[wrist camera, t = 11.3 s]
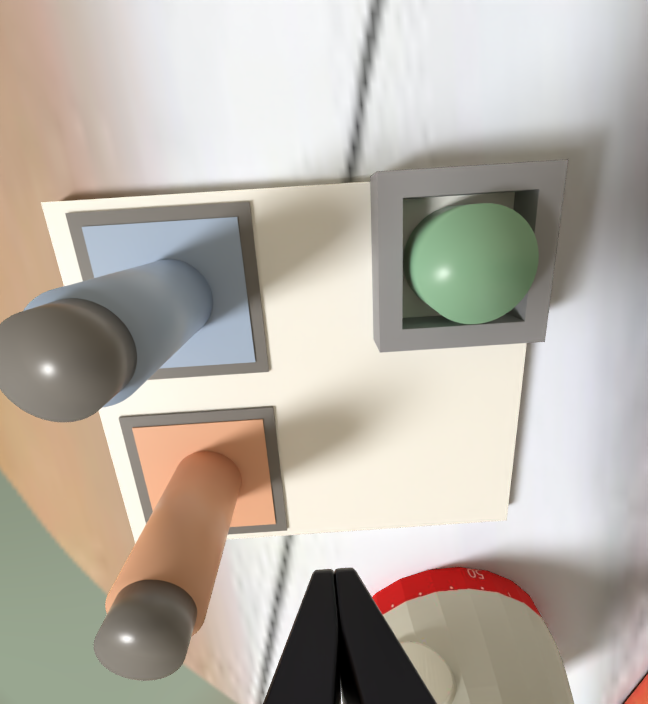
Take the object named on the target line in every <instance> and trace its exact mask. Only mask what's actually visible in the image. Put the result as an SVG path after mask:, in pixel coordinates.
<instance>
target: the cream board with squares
mask: <svg viewBox="0 0 648 704" xmlns="http://www.w3.org/2000/svg"><path fill="white" fill-rule="evenodd" d="M567 166H568V159H567V160H551V161H536V162H520V163H504V164H489V165H473V166H457V167H441V168H426V169H410V170H394V171H379V172H376V173H374V174H373V175H372V176H370V182H355V183H339V184H323V185H308V186H292V187H276V188H261V189H245V190H229V191H214V192H198V193H182V194H167V195H151V196H135V197H120V198H104V199H88V200H73V201H57V202H41V204H42V208H43V212H44V215H45V219H46V222H47V226H48V230H49V233H50V237H51V240H52V244H53V248H54V251H55V255H56V259H57V262H58V266H59V269H60V273H61V277H62V280H63V284H64V286H67V285H71V284H75V283H78V282H82V281H86V280H89V279H93V278H97V277H100V276H104V275H108V274H111V273H115V272H119V271H122V270H126V269H130V268H133V267H137V266H141V265H144V264H148V263H152V262H155V261H159V260H164V259H174V260H179V261H183V262H185V263H187V264H189V265H191V266H193V267H194V268H195V269H197V270H198V271H199V272H200V273H201V274H202V275H203V276H204V278H205V279H206V281H207V282H208V284H209V286H210V289H211V292H212V298H213V306H212V312H211V314H210V317H209V319H208V320H207V322H206V323H205V324H204V325H203V326H202V327H201V328H200V329H199V330H198V331H197V332H196V333H195V334H194V335H193V336H192V337H191V338H190V339H189V340H188V341H187V342H186V343H185V344H184V345H183V346H182V347H181V348H180V349H179V350H178V351H177V352H176V353H175V354H174V355H173V356H172V357H171V358H169V359H168V360H167V361H166V362H165V363H164V364H163V365H162V366H161V367H160V368H159V369H158V370H157V371H156V372H155V373H154V374H153V375H152V376H151V377H150V378H149V379H148V380H147V381H146V382H145V383H144V384H143V385H142V386H141V387H140V388H139V389H138V390H136V391H135V392H134V393H133V394H132V395H131V396H130V397H129V398H127V399H126V400H124V401H122V402H120V403H118V404H115V405H113V406H108V407H103V408H101V409H100V410H99V414H100V417H101V421H102V424H103V428H104V432H105V435H106V439H107V443H108V446H109V450H110V453H111V457H112V461H113V464H114V468H115V471H116V475H117V479H118V482H119V486H120V489H121V493H122V497H123V500H124V504H125V507H126V511H127V515H128V518H129V522H130V526H131V529H132V533H133V536H134V540H135V544H136V542H137V540H138V538H139V536H140V534H141V533H142V531H143V529H144V527H145V525H146V523H147V522H148V520H149V518H150V516H151V514H152V512H153V511H154V509H155V507H156V505H157V503H158V501H159V500H160V498H161V496H162V494H163V492H164V490H165V488H166V487H167V485H168V483H169V481H170V479H171V477H172V476H173V474H174V472H175V470H176V468H177V466H178V465H179V463H180V462H181V461H182V460H183V459H184V458H185V457H186V456H188V455H190V454H192V453H195V452H200V451H212V452H217V453H220V454H222V455H224V456H226V457H228V458H229V459H230V460H232V461H233V462H234V463H235V465H236V466H237V468H238V469H239V472H240V474H241V487H240V491H239V494H238V498H237V502H236V505H235V509H234V513H233V516H232V520H231V524H230V528H229V531H228V535H227V539H240V538H254V537H269V536H284V535H299V534H313V533H328V532H343V531H357V530H372V529H387V528H401V527H416V526H431V525H446V524H460V523H475V522H490V521H504V520H507V512H508V504H509V495H510V486H511V477H512V468H513V460H514V451H515V442H516V433H517V424H518V416H519V407H520V398H521V389H522V381H523V372H524V363H525V354H526V345H527V343H534V342H545V336H546V328H547V320H548V313H549V305H550V297H551V289H552V282H553V274H554V266H555V259H556V251H557V243H558V235H559V228H560V220H561V212H562V204H563V197H564V189H565V181H566V173H567ZM480 203H493V204H499V205H503V206H506V207H508V208H510V209H512V210H514V211H516V212H517V213H519V214H520V215H521V216H522V217H523V218H524V219H525V220H526V221H527V222H528V224H529V225H530V227H531V228H532V230H533V232H534V234H535V237H536V240H537V245H538V253H539V259H538V267H537V272H536V275H535V278H534V281H533V283H532V285H531V287H530V289H529V290H528V292H527V294H526V295H525V296H524V298H523V299H522V300H521V301H520V302H519V303H518V304H517V305H516V306H515V307H514V308H513V309H512V310H511V311H509V312H508V313H506V314H505V315H503V316H501V317H499V318H497V319H495V320H492V321H489V322H485V323H480V324H463V323H458V322H454V321H452V320H449V319H447V318H445V317H444V316H442V315H441V314H439V313H438V312H437V311H435V310H434V309H433V308H432V307H430V306H429V305H428V304H426V303H425V302H424V301H423V300H421V299H420V298H419V297H418V296H417V295H416V294H415V293H414V292H413V291H412V289H411V288H410V287H409V285H408V283H407V280H406V277H405V274H404V269H403V256H404V250H405V247H406V243H407V241H408V239H409V237H410V235H411V233H412V232H413V230H414V229H415V227H416V226H417V225H418V224H419V223H420V222H421V221H422V220H423V219H424V218H425V217H426V216H428V215H429V214H431V213H433V212H434V211H436V210H439V209H441V208H444V207H448V206H454V205H467V204H480Z"/></svg>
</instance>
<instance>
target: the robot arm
mask: <svg viewBox="0 0 648 704" xmlns="http://www.w3.org/2000/svg"><path fill="white" fill-rule="evenodd" d="M341 692H342V701H343V704H437V703H436V701H435V699H434V698H433V696H432V694H431V693H430V691H429V690H428V688H427V686H426V685H425V683H424V681H423V680H422V678H421V676H420V675H419V673H418V672H417V670H416V668H415V667H414V665H413V663H412V662H411V660H410V659H409V657H408V655H407V654H406V652H405V650H404V649H403V647H402V645H401V644H400V642H399V641H398V639H397V637H396V636H395V634H394V632H393V631H392V629H391V627H390V626H389V624H388V623H387V621H386V619H385V618H384V616H383V614H382V613H381V611H380V610H379V608H378V606H377V605H376V603H375V601H374V600H373V598H372V596H371V595H370V593H369V592H368V590H367V588H366V587H365V585H364V583H363V582H362V580H361V578H360V577H359V575H358V574H357V572H356V571H355V569H353V568H338V569H336V570H335V571H333V570H332V569H323V570H315V571H314V572H313V574H312V577H311V579H310V582H309V585H308V587H307V590H306V592H305V595H304V598H303V600H302V603H301V606H300V608H299V611H298V613H297V616H296V619H295V621H294V624H293V627H292V629H291V632H290V634H289V637H288V640H287V642H286V645H285V648H284V650H283V653H282V655H281V658H280V661H279V663H278V666H277V669H276V671H275V674H274V676H273V679H272V682H271V684H270V687H269V690H268V692H267V695H266V697H265V700H264V703H263V704H341Z"/></svg>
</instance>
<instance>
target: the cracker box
mask: <svg viewBox="0 0 648 704" xmlns="http://www.w3.org/2000/svg"><path fill="white" fill-rule="evenodd" d="M624 704H648V674H647V675H646V677H645V678H644V679H643V681H642V682H641V683H640V684H639V685H638V687H637V688H636V689H635V690H634V692H633V693H632V694H631V695H630V697H629V698H628V699H627V700H626V702H625V703H624Z"/></svg>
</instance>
